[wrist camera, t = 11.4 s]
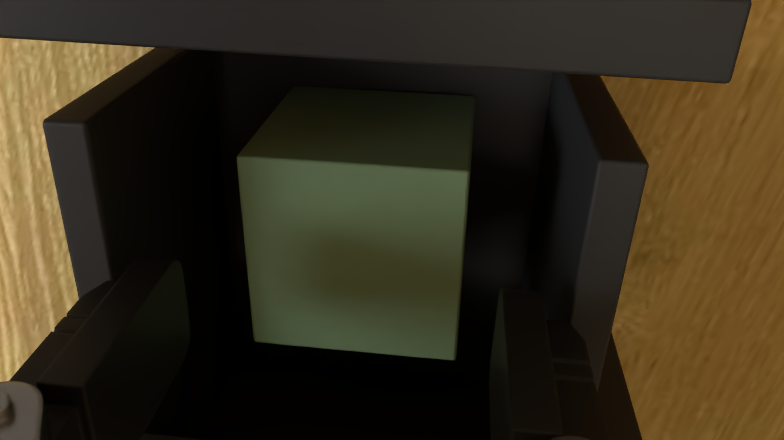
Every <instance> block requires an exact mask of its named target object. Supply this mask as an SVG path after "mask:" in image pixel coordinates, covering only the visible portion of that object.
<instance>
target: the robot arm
mask: <svg viewBox="0 0 784 440" xmlns="http://www.w3.org/2000/svg"><path fill="white" fill-rule="evenodd" d="M189 342H190V321H189V313H188V305H187V296H186V288H185V280H184V272H183V267H182V265H181V263H180V261H178V260H171V259H159V258H147V257H137V258H136V259H135V260H134V261H133V262H132V263H131V264H130V265H129V267H128V268H127V269H126V270H125V272H124V273H123V274H122V275H121V277H120V278H119V279H118V280H117V281H105V282H104V283H102V284H100V285H99V286H97V287H95V288H94V289H92V290H90V291H89V292H87V293H86V294H84V295H82V297H81V298H80V299H79V300H78V301H77V302H76V304H75V305H74V306H73V307H72V308H71V309H70V311H69V312H68V313H67V317H64V318H63V319H62V320H61V321H60V322H59V323H58V325H57V326H56V327H55V330H54V332H51V333H50V334H49V335H48V336H47V337H46V339H45V340H44V341H43V342H42V343H41V344H40V346H39V347H38V348H37V349H36V350H35V351H34V353H33V354H32V355H31V356H30V357H29V358H28V360H27V361H26V362H25V363H24V364H23V365H22V367H21V368H20V369H19V370H18V371H17V372H16V374H15V375H14V376H13V377H12V378H11V379H10V381H5V382H0V440H141V438H142V436H143V434H144V433H145V431H146V429H147V427H148V425H149V423H150V422H151V420H152V418H153V416H154V414H155V413H156V411H157V409H158V407H159V405H160V404H161V402H162V400H163V398H164V396H165V395H166V393H167V391H168V389H169V387H170V386H171V384H172V382H173V380H174V378H175V376H176V375H177V373H178V371H179V369H180V367H181V366H182V364H183V362H184V360H185V358H186V355H187V352H188V348H189ZM489 405H490V435H491V440H608V437H607V432H606V428H605V424H604V419H603V415H602V411H601V406H600V402H599V398H598V393H597V389H596V385H595V383H594V376H593V372H592V367H591V366H590V359H589V354H588V350H587V346H586V341H585V340H584V339H583V337H582V336H581V335H580V334H579V333H578V331H577V330H576V329H575V328H574V327H573V325H572V324H571V323H570V322H566V321H555V320H546V315H545V309H544V303H543V297H542V293H541V292H540V291H528V290H516V289H504V288H501V289H500V292H499V297H498V305H497V313H496V320H495V328H494V336H493V343H492V351H491V359H490V372H489Z"/></svg>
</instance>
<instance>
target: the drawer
mask: <svg viewBox="0 0 784 440" xmlns="http://www.w3.org/2000/svg"><path fill="white" fill-rule="evenodd" d="M750 8H751V0H0V38H15V39H31V40H46V41H62V42H78V43H94V44H109V45H125V46H141V47H156V48H154V49H152V50H151V51H149V52H148V53H146V54H145V55H143V56H142V57H140V58H139V59H137V60H135V61H134V62H132V63H131V64H129V65H128V66H126V67H125V68H123V69H122V70H120V71H119V72H117V73H115V74H114V75H112V76H111V77H109V78H108V79H106V80H105V81H103V82H102V83H100V84H98V85H97V86H95V87H94V88H92V89H91V90H89V91H88V92H86V93H85V94H83V95H82V96H80V97H78V98H77V99H75V100H74V101H72V102H71V103H69V104H68V105H66V106H65V107H63V108H61V109H60V110H58V111H57V112H55V113H54V114H52V115H51V116H49V117H48V118H46V119H45V120H44V121H43V128H44V133H45V137H46V142H47V147H48V152H49V157H50V161H51V166H52V171H53V176H54V180H55V185H56V190H57V195H58V200H59V204H60V209H61V214H62V219H63V224H64V228H65V233H66V238H67V243H68V248H69V252H70V257H71V262H72V267H73V272H74V276H75V281H76V286H77V291H78V295H79V299H80V298H81V297H82V295H84V294H86V293H87V292H89V291H90V290H92V289H94V288H95V287H97V286H99V285H100V284H102V283H104V282H105V281H117V280H118V279H119V278H120V277H121V275H122V274H123V273H124V272H125V270H126V269H127V268H128V267H129V265H130V264H131V263H132V262H133V261H134V260H135V259H136V258H137V257H147V258H159V259H171V260H178V261H180V263H181V265H182V267H183V272H184V280H185V288H186V296H187V305H188V313H189V321H190V342H189V348H188V352H187V355H186V358H185V360H184V362H183V364H182V366H181V367H180V369H179V371H178V373H177V375H176V376H175V378H174V380H173V382H172V384H171V386H170V387H169V389H168V391H167V393H166V395H165V396H164V398H163V400H162V402H161V404H160V405H159V407H158V409H157V411H156V413H155V414H154V416H153V418H152V420H151V422H150V423H149V425H148V427H147V429H146V431H145V433H149V434H159V435H168V436H178V437H188V438H198V439H207V440H491V435H490V405H489V372H490V359H491V351H492V343H493V336H494V328H495V320H496V313H497V305H498V297H499V292H500V289H501V288H504V289H516V290H528V291H540V292H541V293H542V297H543V303H544V309H545V315H546V320H555V321H566V322H570V323H571V324H572V325H573V327H574V328H575V329H576V330H577V331H578V333H579V334H580V335H581V336H582V337H583V339H584V340H585V341H586V346H587V350H588V354H589V359H590V366H591V367H592V372H593V376H594V383H595V385H596V389H597V391H598V387H599V383H600V378H601V374H602V369H603V365H604V361H605V356H606V352H607V347H608V343H609V339H610V334H611V330H612V325H613V321H614V317H615V312H616V308H617V303H618V299H619V295H620V290H621V286H622V281H623V277H624V273H625V268H626V264H627V259H628V255H629V251H630V246H631V242H632V237H633V233H634V229H635V224H636V220H637V215H638V211H639V207H640V202H641V198H642V193H643V189H644V185H645V180H646V176H647V171H648V167H649V165H648V162H647V160H646V159H645V157H644V155H643V153H642V151H641V149H640V148H639V146H638V144H637V142H636V140H635V139H634V137H633V135H632V133H631V131H630V130H629V128H628V126H627V124H626V122H625V121H624V119H623V117H622V115H621V113H620V111H619V110H618V108H617V106H616V104H615V102H614V101H613V99H612V97H611V95H610V93H609V92H608V90H607V88H606V86H605V84H604V83H603V81H602V79H601V77H600V76H614V77H629V78H645V79H661V80H677V81H692V82H708V83H724V84H725V83H729V82H730V81H731V78H732V75H733V71H734V67H735V64H736V60H737V56H738V53H739V49H740V45H741V41H742V38H743V34H744V30H745V27H746V23H747V19H748V16H749V12H750ZM294 86H303V87H321V88H338V89H356V90H374V91H392V92H410V93H428V94H446V95H464V96H474V97H475V112H474V127H473V142H472V156H471V171H470V184H469V198H468V211H467V224H466V237H465V250H464V263H463V276H462V289H461V303H460V316H459V329H458V342H457V355H456V359H455V360H453V361H451V360H441V359H430V358H419V357H409V356H398V355H387V354H377V353H366V352H356V351H345V350H334V349H324V348H313V347H302V346H292V345H281V344H271V343H260V342H255V341H254V337H253V327H252V316H251V306H250V295H249V285H248V274H247V264H246V253H245V243H244V232H243V222H242V211H241V201H240V190H239V180H238V169H237V159H236V158H237V155H238V154H239V153H240V152H241V151H242V149H243V148H244V147H245V146H246V144H247V143H248V142H249V141H250V139H251V138H252V137H253V136H254V134H255V133H256V132H257V131H258V130H259V128H260V127H261V126H262V125H263V123H264V122H265V121H266V120H267V118H268V117H269V116H270V115H271V113H272V112H273V111H274V110H275V109H276V107H277V106H278V105H279V104H280V102H281V101H282V100H283V99H284V97H285V96H286V95H287V94H288V92H289V91H290V90H291V89H292V88H293V87H294Z"/></svg>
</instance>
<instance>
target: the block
mask: <svg viewBox="0 0 784 440" xmlns="http://www.w3.org/2000/svg"><path fill="white" fill-rule="evenodd" d="M474 112H475V97H474V96H464V95H446V94H428V93H410V92H392V91H374V90H356V89H338V88H321V87H303V86H294V87H293V88H292V89H291V90H290V91H289V92H288V94H287V95H286V96H285V97H284V99H283V100H282V101H281V102H280V104H279V105H278V106H277V107H276V109H275V110H274V111H273V112H272V113H271V115H270V116H269V117H268V118H267V120H266V121H265V122H264V123H263V125H262V126H261V127H260V128H259V130H258V131H257V132H256V133H255V134H254V136H253V137H252V138H251V139H250V141H249V142H248V143H247V144H246V146H245V147H244V148H243V149H242V151H241V152H240V153H239V154H238V155H237V158H236V159H237V169H238V180H239V190H240V201H241V211H242V222H243V232H244V243H245V253H246V264H247V274H248V285H249V295H250V306H251V316H252V327H253V337H254V341H255V342H260V343H271V344H281V345H292V346H302V347H313V348H324V349H334V350H345V351H356V352H366V353H377V354H387V355H398V356H409V357H419V358H430V359H441V360H451V361H453V360H455V359H456V355H457V342H458V329H459V316H460V303H461V289H462V276H463V263H464V250H465V237H466V224H467V211H468V198H469V184H470V171H471V156H472V142H473V127H474Z"/></svg>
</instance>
